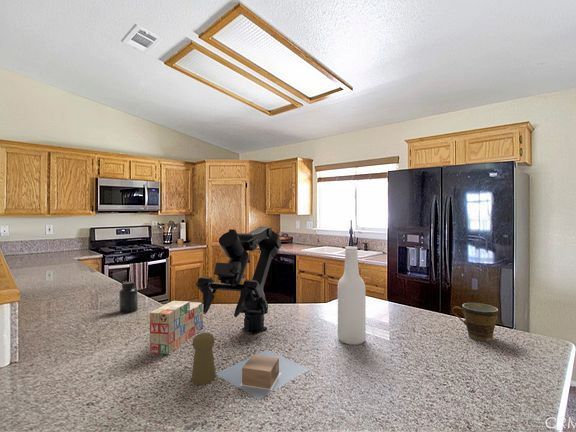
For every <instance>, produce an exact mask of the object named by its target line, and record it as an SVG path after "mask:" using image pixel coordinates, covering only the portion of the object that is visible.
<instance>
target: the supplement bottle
mask: <svg viewBox="0 0 576 432" xmlns="http://www.w3.org/2000/svg"><path fill="white" fill-rule="evenodd" d="M135 283H136V282H135V281H125V282H124V281H123V282H122V283H121V289H120V291H119V293H118V296H119V300H118V301H119V305H118V306H119V313H121V314H130V313H134V312H136V311H138V305H139V303H138V301H139V299H138V293H139V292H138V291H139V290H138V289H137V288H136V284H135Z"/></svg>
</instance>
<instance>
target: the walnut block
mask: <svg viewBox="0 0 576 432" xmlns="http://www.w3.org/2000/svg"><path fill="white" fill-rule="evenodd" d="M250 357H251V358H250ZM250 357H249V358H250V359H249V360H248V361H247V362H246V364H245V365H244V366H243V367H242V385H248V386H255V387H261V388H268V389H270V388H271V387H272V385H273V383H274V382H275V380H276V378H277V376H278V375H279V358H276V357H268V356H260V355H257V354H252V355H251V356H250Z"/></svg>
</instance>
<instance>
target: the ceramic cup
mask: <svg viewBox="0 0 576 432" xmlns="http://www.w3.org/2000/svg"><path fill="white" fill-rule="evenodd" d="M455 309H458V310H460V311H461V313H462V314H463V316H464V320H463V319H462V317H461V316H459V315H457V313H455V312H454V310H455ZM451 310H452V311H451V312H452V313H453V314H454V315H455V317H457V318H458V319H459V320H460V321H461V322H462V323H463V324H464V326H465V327H466V331H467V336H468V338H471V339H472V340H475V341H480V342H484V343H485V342H491V341H493V338H494V332H495V328H496V327H495V326H496V323H497V319H498V315H499V309H498V308H497V307H495V306H493V305H491V304H485V303H479V302H466V303H463V304H462V307H460V306H458V305H457V306H454V307H453V308H452V309H451Z"/></svg>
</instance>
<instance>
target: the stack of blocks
mask: <svg viewBox="0 0 576 432" xmlns="http://www.w3.org/2000/svg"><path fill="white" fill-rule="evenodd" d="M203 327H204V313H203V302H196V301H195V302H194V301H193V302H192V301H189V300H188V301H187V300H186V301H185V300H172V301H170V302H168V303H166V304H163V305H162V306H160V307H158V308H156V309H154V310H152V311H150V312H149V340H150V341H149V342H150V343H149V348H150V349H149V353H150V354H159V355H168V354H169V355H170V354H171V352H172V351H173V350H174V351H176V350H177V349H178V348H180V347H181V346H182V345H184V344H185V343H186V342H187V341H188V340H189V339H191V338H192V337H193V336H194V335H196V334H197V333H199V332H200V331H201V330H202V329H204V328H203ZM201 328H202V329H201ZM200 329H201V330H200ZM199 330H200V331H199ZM196 332H197V333H196ZM195 333H196V334H195ZM193 334H194V335H193ZM192 335H193V336H192ZM191 336H192V337H191ZM190 337H191V338H190ZM188 338H189V339H188ZM187 339H188V340H187ZM186 340H187V341H186ZM185 341H186V342H185ZM184 342H185V343H184ZM183 343H184V344H183ZM181 344H182V345H181ZM180 345H181V346H180ZM179 346H180V347H179ZM176 348H177V349H176ZM175 349H176V350H175ZM174 351H173V352H174ZM173 352H172V353H173Z"/></svg>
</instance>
